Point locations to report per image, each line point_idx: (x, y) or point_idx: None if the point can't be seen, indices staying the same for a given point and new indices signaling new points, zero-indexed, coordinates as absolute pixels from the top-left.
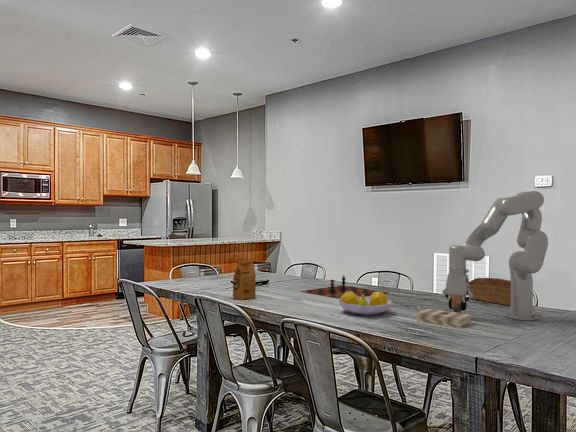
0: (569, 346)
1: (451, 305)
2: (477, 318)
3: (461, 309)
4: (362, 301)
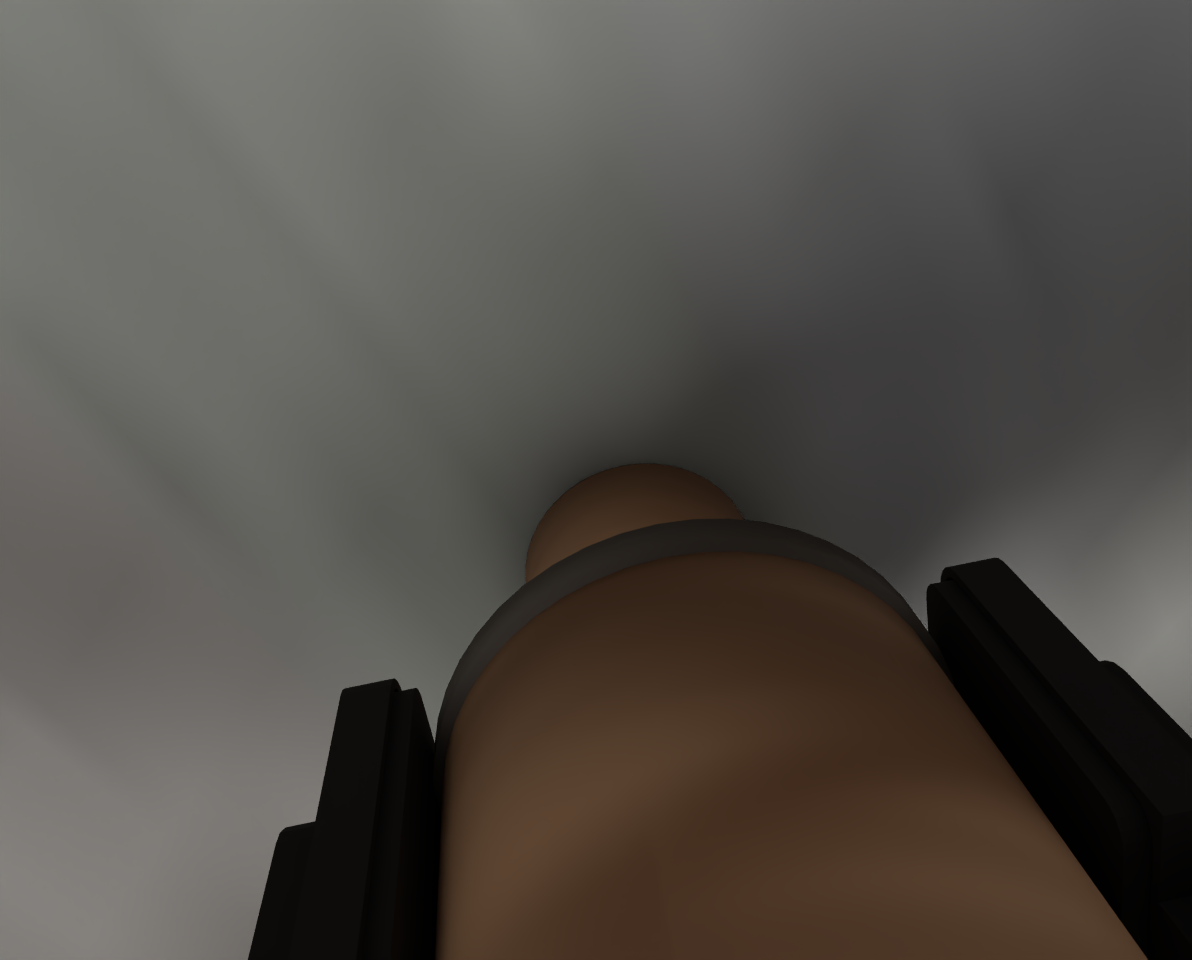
0: None
1: None
2: (1168, 74)
3: None
4: None
